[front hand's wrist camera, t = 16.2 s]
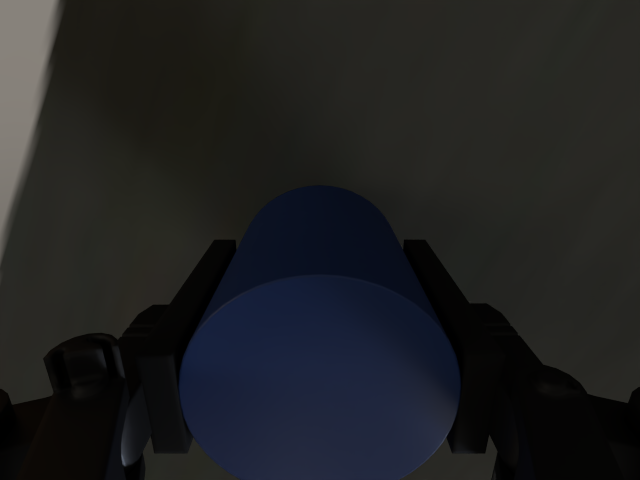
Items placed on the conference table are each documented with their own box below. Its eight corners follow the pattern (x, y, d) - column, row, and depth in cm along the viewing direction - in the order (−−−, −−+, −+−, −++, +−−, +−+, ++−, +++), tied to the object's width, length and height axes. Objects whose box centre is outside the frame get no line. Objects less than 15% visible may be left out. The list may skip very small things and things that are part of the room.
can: (210, 235, 15) (116, 360, 8) (351, 153, 14) (382, 217, 7) (294, 350, 17) (276, 530, 10) (423, 286, 16) (504, 440, 9)
